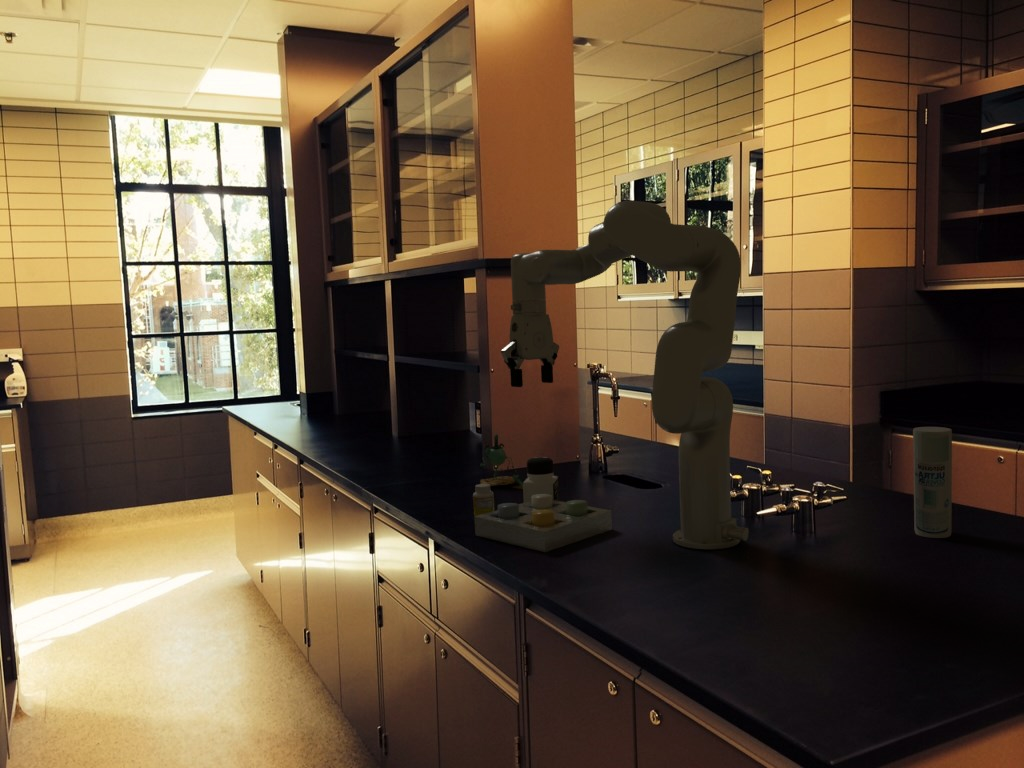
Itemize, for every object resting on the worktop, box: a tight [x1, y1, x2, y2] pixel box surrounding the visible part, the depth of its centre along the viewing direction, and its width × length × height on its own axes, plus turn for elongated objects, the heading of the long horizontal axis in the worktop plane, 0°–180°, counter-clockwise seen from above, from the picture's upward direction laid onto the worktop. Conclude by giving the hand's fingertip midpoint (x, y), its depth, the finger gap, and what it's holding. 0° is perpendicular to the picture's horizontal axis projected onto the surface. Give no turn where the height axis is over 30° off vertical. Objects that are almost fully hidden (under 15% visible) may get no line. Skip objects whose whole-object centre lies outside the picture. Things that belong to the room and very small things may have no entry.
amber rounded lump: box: [532, 510, 555, 528], centre depth 163 cm, size 4×4×4 cm
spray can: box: [912, 426, 953, 539], centre depth 155 cm, size 6×6×20 cm
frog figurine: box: [479, 433, 523, 490], centre depth 220 cm, size 10×18×15 cm, turn 30°
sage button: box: [565, 499, 588, 517], centre depth 170 cm, size 4×4×4 cm
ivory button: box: [532, 494, 552, 510], centre depth 177 cm, size 4×4×4 cm
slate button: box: [497, 502, 520, 520], centre depth 170 cm, size 4×4×4 cm
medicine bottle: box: [522, 456, 560, 503], centre depth 190 cm, size 7×7×12 cm
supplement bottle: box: [472, 483, 496, 522], centre depth 180 cm, size 5×5×8 cm
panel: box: [473, 500, 613, 553], centre depth 170 cm, size 20×20×4 cm
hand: (532, 384), depth 187 cm, fingers open, 9 cm apart
